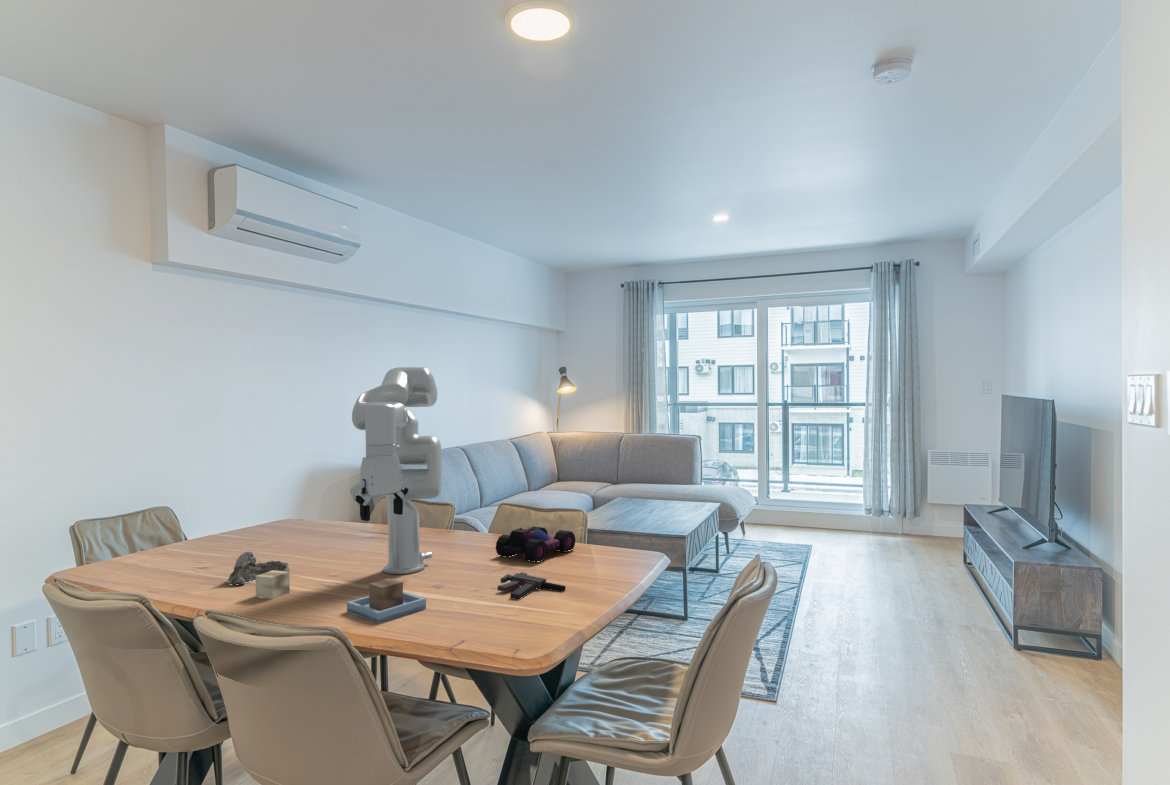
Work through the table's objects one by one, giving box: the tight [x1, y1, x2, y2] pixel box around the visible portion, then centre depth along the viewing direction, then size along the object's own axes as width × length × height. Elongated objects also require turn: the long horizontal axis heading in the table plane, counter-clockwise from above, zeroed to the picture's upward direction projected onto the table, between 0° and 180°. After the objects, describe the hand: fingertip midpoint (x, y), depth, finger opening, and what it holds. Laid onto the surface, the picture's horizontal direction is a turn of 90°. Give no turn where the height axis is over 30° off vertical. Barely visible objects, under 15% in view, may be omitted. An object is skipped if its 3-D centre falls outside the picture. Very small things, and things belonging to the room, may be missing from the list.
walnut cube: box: [368, 577, 404, 611], centre depth 165 cm, size 6×6×6 cm
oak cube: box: [255, 570, 291, 600], centre depth 180 cm, size 6×6×6 cm
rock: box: [227, 551, 290, 586], centre depth 198 cm, size 18×11×10 cm, turn 137°
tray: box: [346, 591, 427, 624], centre depth 165 cm, size 14×14×2 cm
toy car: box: [495, 526, 576, 563], centre depth 222 cm, size 17×25×10 cm, turn 145°
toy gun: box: [497, 571, 567, 600], centre depth 179 cm, size 3×19×15 cm
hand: (382, 517), depth 167 cm, fingers open, 9 cm apart
